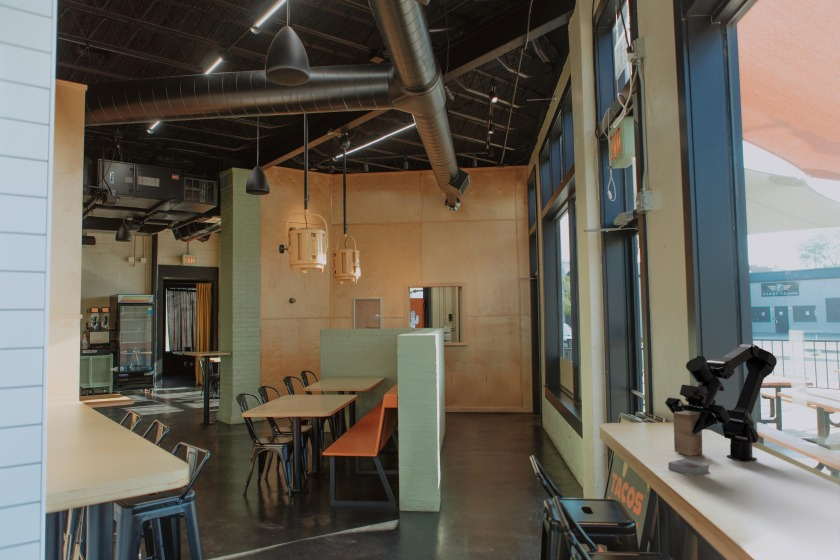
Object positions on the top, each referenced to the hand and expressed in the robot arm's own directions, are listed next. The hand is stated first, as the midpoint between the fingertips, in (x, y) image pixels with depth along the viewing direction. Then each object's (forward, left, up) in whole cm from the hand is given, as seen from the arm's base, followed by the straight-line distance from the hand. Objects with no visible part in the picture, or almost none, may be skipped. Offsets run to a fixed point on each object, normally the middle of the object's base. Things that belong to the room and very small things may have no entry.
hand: (684, 431), depth 167 cm
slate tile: (-1, 0, -12) cm, 12 cm away
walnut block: (-1, 0, -7) cm, 7 cm away
